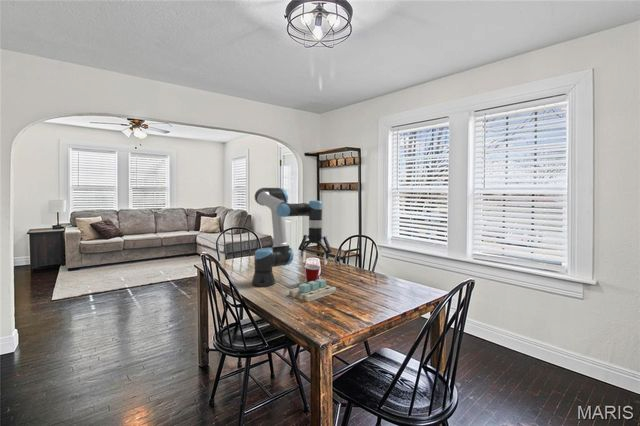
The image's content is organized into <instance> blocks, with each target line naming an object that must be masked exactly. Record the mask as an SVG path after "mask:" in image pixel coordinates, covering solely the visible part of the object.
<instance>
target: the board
mask: <svg viewBox="0 0 640 426" xmlns="http://www.w3.org/2000/svg"><path fill="white" fill-rule="evenodd" d="M335 293H337V288H336V287H335V286H333V285H332V286H331V285H327V284H326V287H323V288H319V289H317V290H314V291H312V290H310V292H307V293H302V292H299V287H296V288H293V289H292V288H291V289H289V291H288V296H291V297H292V298H296V299H299V300H302V301H305V302H306V303H309V302H312V301H314V300H317V299H320V298H323V297H326V296H328V295H332V294H335Z"/></svg>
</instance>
